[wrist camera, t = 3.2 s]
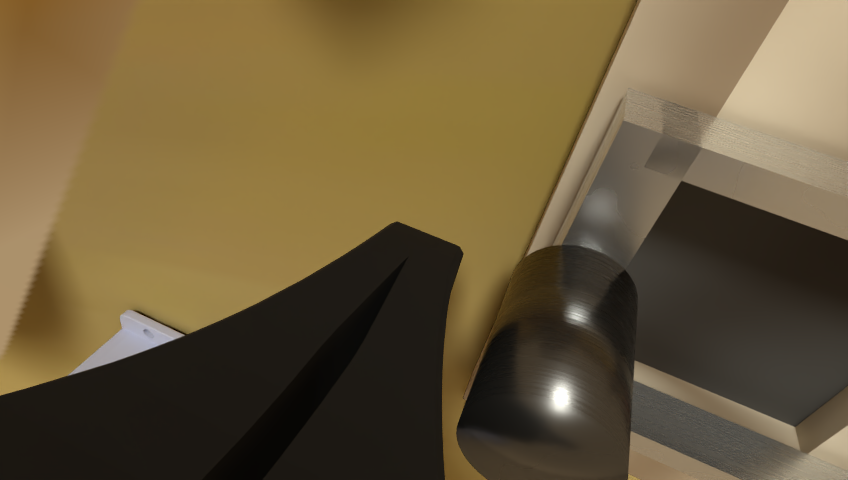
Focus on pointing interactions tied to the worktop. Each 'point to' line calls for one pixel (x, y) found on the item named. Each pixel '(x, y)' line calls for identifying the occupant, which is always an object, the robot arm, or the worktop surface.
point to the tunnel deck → (734, 222)
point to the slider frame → (631, 311)
